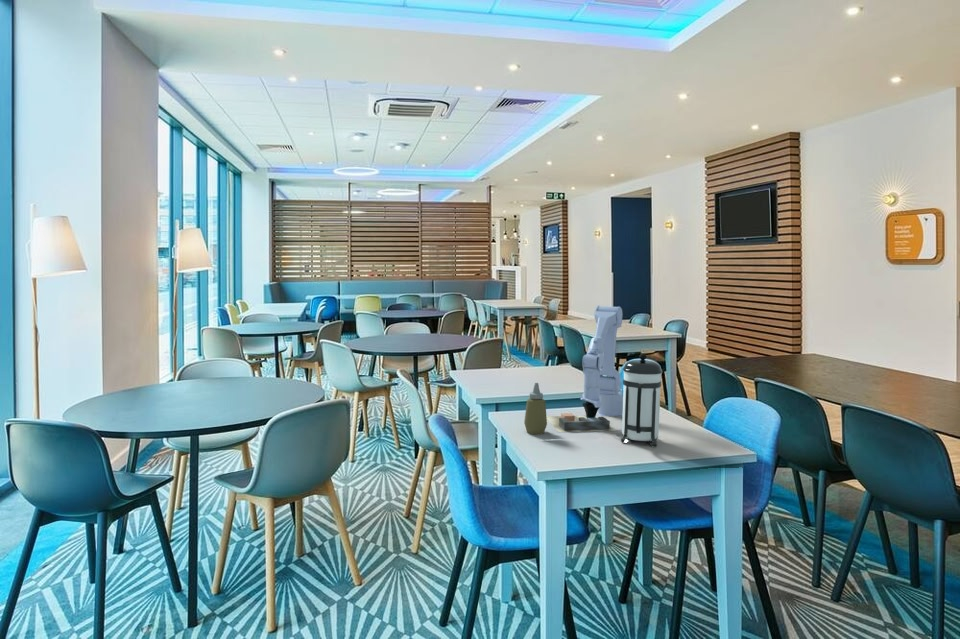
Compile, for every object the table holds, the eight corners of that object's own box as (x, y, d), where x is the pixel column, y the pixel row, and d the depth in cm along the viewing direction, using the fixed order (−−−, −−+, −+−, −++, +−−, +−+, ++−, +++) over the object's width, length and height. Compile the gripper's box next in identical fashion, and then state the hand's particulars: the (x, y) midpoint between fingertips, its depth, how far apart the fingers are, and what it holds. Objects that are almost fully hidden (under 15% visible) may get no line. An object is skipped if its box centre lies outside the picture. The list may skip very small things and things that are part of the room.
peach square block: (571, 420, 215) (571, 413, 214) (574, 423, 211) (574, 415, 210) (560, 421, 214) (561, 413, 214) (564, 423, 210) (564, 416, 210)
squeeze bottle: (522, 435, 196) (523, 384, 194) (525, 429, 204) (526, 380, 202) (545, 437, 194) (546, 385, 192) (548, 431, 202) (549, 381, 200)
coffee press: (606, 437, 195) (608, 351, 193) (644, 433, 201) (647, 350, 199) (636, 451, 179) (639, 358, 177) (677, 447, 185) (681, 356, 182)
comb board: (595, 416, 224) (595, 407, 224) (617, 431, 202) (617, 422, 202) (543, 417, 221) (543, 409, 220) (559, 433, 199) (559, 423, 199)
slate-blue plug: (597, 425, 208) (597, 417, 208) (600, 428, 204) (601, 420, 204) (586, 425, 208) (586, 417, 208) (590, 428, 204) (590, 420, 204)
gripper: (575, 382, 215) (574, 417, 216) (588, 390, 200) (587, 427, 201) (592, 382, 216) (591, 417, 217) (606, 389, 201) (605, 427, 202)
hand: (590, 422), depth 209 cm, fingers closed
